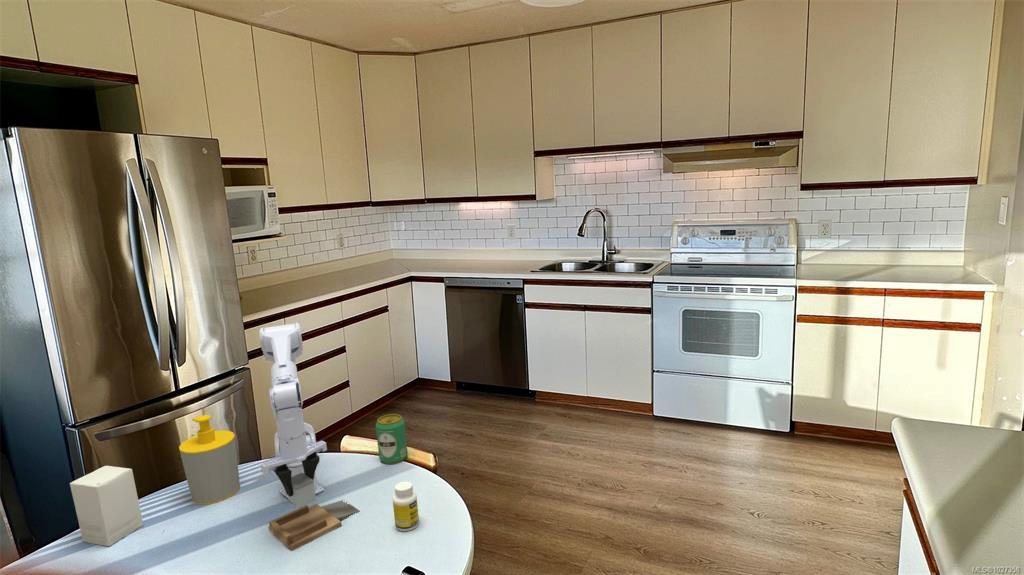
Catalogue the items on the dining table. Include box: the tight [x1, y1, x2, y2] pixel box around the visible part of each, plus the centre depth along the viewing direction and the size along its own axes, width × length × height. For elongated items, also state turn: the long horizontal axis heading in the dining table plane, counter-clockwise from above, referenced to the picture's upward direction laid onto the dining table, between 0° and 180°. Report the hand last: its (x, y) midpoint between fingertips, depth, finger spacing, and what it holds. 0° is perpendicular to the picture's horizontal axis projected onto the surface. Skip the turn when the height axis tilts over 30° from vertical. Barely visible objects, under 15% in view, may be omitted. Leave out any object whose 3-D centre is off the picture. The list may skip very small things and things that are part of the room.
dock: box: [268, 499, 361, 552], centre depth 136 cm, size 12×18×3 cm, turn 135°
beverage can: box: [375, 413, 408, 465], centre depth 165 cm, size 8×8×12 cm
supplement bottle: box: [392, 481, 420, 532], centre depth 132 cm, size 5×5×10 cm
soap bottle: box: [178, 414, 241, 506], centre depth 151 cm, size 13×13×21 cm
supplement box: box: [69, 465, 144, 547], centre depth 136 cm, size 9×9×15 cm
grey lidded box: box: [287, 473, 317, 509], centre depth 132 cm, size 6×4×5 cm
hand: (299, 490), depth 132 cm, fingers closed on grey lidded box, 4 cm apart
